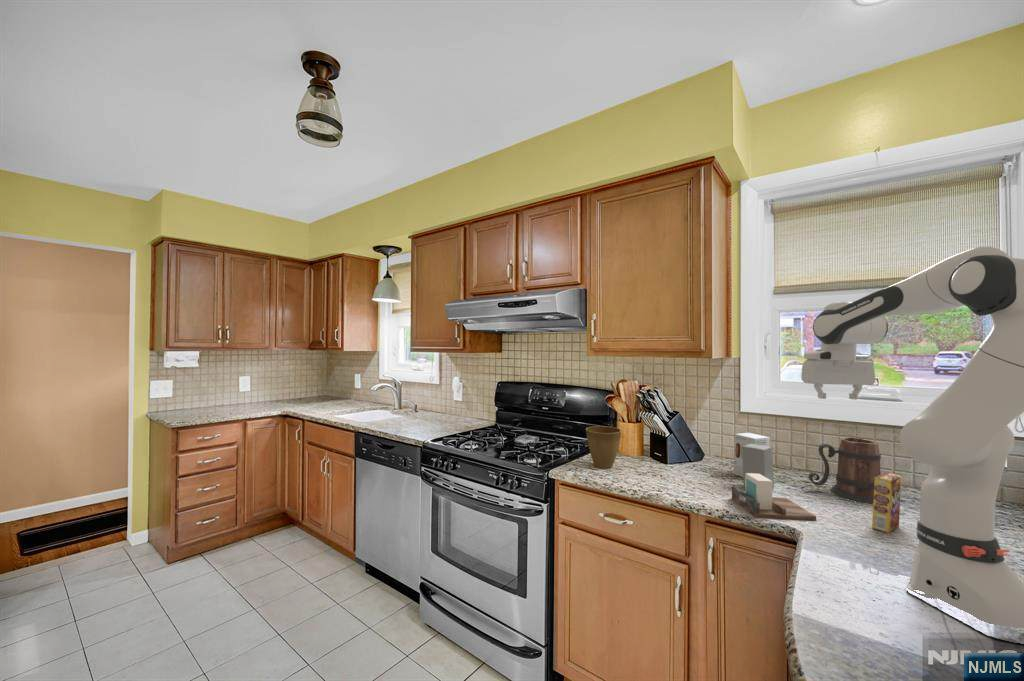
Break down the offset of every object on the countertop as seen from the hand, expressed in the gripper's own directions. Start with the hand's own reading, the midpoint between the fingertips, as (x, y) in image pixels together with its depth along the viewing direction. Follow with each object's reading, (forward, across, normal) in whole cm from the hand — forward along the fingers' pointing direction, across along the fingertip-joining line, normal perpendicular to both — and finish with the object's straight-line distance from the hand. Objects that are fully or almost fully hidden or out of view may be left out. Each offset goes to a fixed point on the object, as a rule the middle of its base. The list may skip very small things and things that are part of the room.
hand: (837, 398), depth 133 cm
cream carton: (+36, +21, -5) cm, 42 cm away
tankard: (+37, -19, -23) cm, 48 cm away
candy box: (+37, -10, +6) cm, 39 cm away
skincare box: (+37, +11, -26) cm, 47 cm away
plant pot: (+37, +65, -47) cm, 88 cm away
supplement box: (+37, +6, -41) cm, 56 cm away
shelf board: (+37, +17, -5) cm, 41 cm away
